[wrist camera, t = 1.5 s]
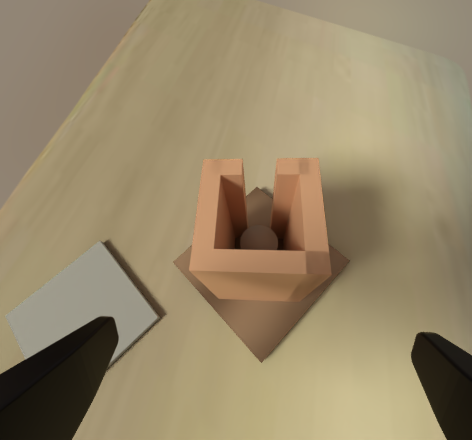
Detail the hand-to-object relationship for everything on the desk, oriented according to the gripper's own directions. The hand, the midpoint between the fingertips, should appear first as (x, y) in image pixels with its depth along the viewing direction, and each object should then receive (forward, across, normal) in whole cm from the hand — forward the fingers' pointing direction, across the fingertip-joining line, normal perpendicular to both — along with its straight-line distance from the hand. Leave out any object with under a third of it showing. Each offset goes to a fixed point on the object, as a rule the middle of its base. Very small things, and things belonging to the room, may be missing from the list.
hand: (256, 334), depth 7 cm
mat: (+9, +14, +8) cm, 18 cm away
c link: (+12, 0, +4) cm, 12 cm away
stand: (+12, 0, +5) cm, 13 cm away
